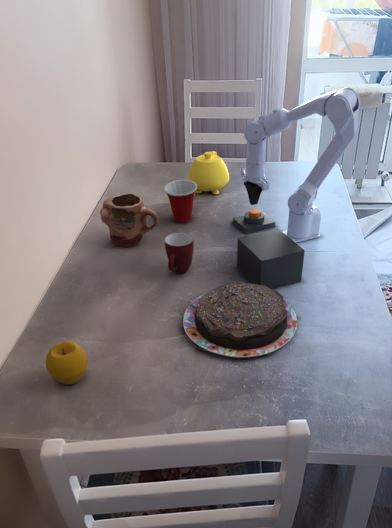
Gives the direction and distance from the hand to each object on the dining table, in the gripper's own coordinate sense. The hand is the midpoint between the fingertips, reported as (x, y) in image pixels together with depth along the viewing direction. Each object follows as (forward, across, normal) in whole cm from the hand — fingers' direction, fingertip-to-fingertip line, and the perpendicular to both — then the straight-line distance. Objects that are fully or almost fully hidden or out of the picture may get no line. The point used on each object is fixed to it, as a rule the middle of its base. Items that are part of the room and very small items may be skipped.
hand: (253, 203), depth 154 cm
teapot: (+8, -37, +1) cm, 38 cm away
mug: (+8, +16, -32) cm, 37 cm away
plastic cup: (+8, -15, -19) cm, 26 cm away
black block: (+8, +28, -10) cm, 31 cm away
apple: (+8, +46, -69) cm, 84 cm away
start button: (+5, -1, +1) cm, 5 cm away
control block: (+8, -1, +1) cm, 8 cm away
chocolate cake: (+8, +44, -27) cm, 52 cm away
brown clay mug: (+8, -8, -39) cm, 41 cm away
